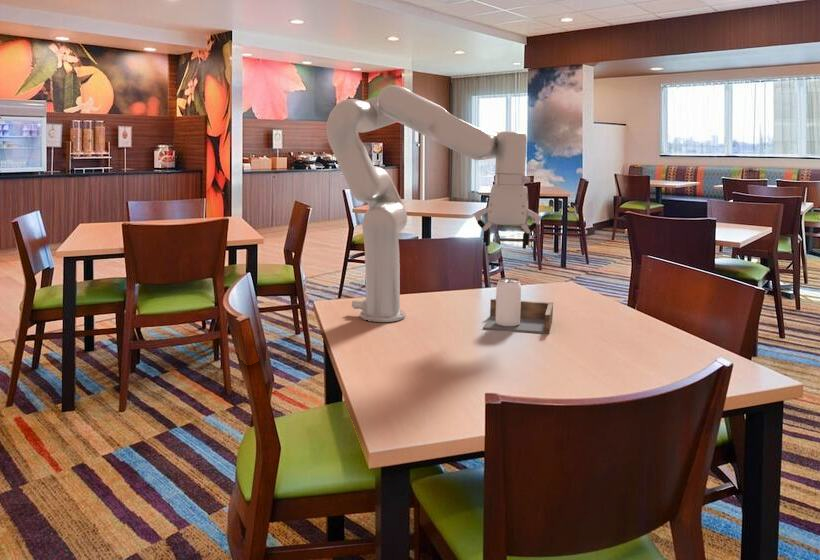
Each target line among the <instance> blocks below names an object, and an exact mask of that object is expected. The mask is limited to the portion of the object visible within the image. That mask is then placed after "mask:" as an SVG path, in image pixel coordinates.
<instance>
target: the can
mask: <svg viewBox="0 0 820 560" xmlns="http://www.w3.org/2000/svg"><path fill="white" fill-rule="evenodd" d="M497 281H498V282H497V284H496V289H495V299H496V323H497V325H499V326H503V327H515V326H518V325H519V324H520V308H521V301H522V285H521V280H520V279H519V278H514V277H502V278H498V280H497Z"/></svg>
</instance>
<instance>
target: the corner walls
mask: <svg viewBox="0 0 820 560" xmlns="http://www.w3.org/2000/svg"><path fill="white" fill-rule="evenodd" d="M489 304H490V311H489V317H490V316H496V298H491V299H490V303H489ZM553 311H554V302H546V301H532V300H521V308H520V318H534V319H545V331H544V332H545V333H546V332H549V331H550V332H551V328H552V323H553V313H554V312H553ZM547 335H549V334H548V333H547Z"/></svg>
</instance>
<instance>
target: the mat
mask: <svg viewBox="0 0 820 560" xmlns="http://www.w3.org/2000/svg"><path fill="white" fill-rule="evenodd" d="M482 329H483V330H487V331H490V330H491V331H503V332H516V333H517V332H519V333H533V334H547V333H548V334H547V335H550V332H551V330H550V331H549V332H546V333H545V332H544V331H545V319H534V318H520V324H519V325H518V326H515V327H503V326H499V325H497V323H496V316H490V315H489V317H488V319H487V320H486V322H485V323H484V325H483V327H482Z"/></svg>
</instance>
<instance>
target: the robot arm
mask: <svg viewBox="0 0 820 560" xmlns="http://www.w3.org/2000/svg"><path fill="white" fill-rule="evenodd" d="M395 123H399V124H401V125H403V126H405V127H407V128H409V129H411V130H413V131H415V132H417V133H418V134H421V135H422V136H425V137H427V138H429V140H433V141H435V142H437V143H439V144H441V145H443V146H444V147H446V148H448V149H450V150H452V151H454V152H457V153H458V154H460V155H462V156H465V157H466V158H469V159H471V160H474V161H483V160H492V159H495V167H494V168H495V170H494V171H495V172H494V184H493V185H492V186H491V187H490V189H491V190H490V193H489V197H488V198H489V199H488V204H487V205H488V206H487V207H486V208H483V209H481V210H479V211H477V212H475V213H474V214H473V215H474V218H475V221H476V222H477V225H478V226H479V227H480V228H481V229H482V231H483V243H485V247H488V246H491V245H490V244H491V232H492V231H491V229H490V228H491V226H492V225H498V226H499V225H501V226H516V227H517V226H518V227H519V226H520V227H521V228H522V229H523V231H524V232H523V235H522V249H524V250H525V249H526V248H527V246H529V245H530V233H531V232H532V231H533V230H535V229H537V227H538V225H539V223H540V222H541V220H542V216H541V215H540V214H538V213H536V212H534V211H533V210H531V209H529V193H528V186H525V184H526V183H531V177H530V176H527V175H526V162H527V161H526V159H527V158H526V156H527V142H528V141H527V140H528V138H527V134H526V133H525V132H524V131H523V132H522V131H512V130H511V131H501V132H498V131H497V132H496V131H490V130H485V129H482V128H479V127H477V126H475V125H472V124H471V123H469V122H467V121H464V120H463V119H460V118H459V117H457V116H455V115H453V114H452V113H450V112H449V111H447V110H446V109H445V108H444V107H443V106H441V105H439V104H437V103H435V102H433V101H431V100H429V99H427V98H425V97H423V96H421V95H419V94H416V93H415V92H413V91H411V90H410V89H408V88H406V87H403V86H400V85H397V84H389V85H386V86H385V87H383V88H382V89H381V90H380V92H379V94H378V96H374V97H371V98H369V99H365V100H359V99H357V98H348V99H343V100H341V101H339V102H338V103H336V105H335V106H334V107H333V108H332V110H331V111H330V113H329V115H328V117H327V121H326V136H327V141H328V144H329V147H330V149H331V151H332V153H333V155H334V156H335V159H336V161H337V163H338V166H339V169H340V171H341V173H342V175H343V178H344V180H345V182H346V184H347V187H348V188H349V190H350V191H349V192H350V193H351V195H352V196H353V197H354V199H355V200H357V201H359V202H362V203H367V206H368V208H367V210H366V212H365V213H364V215H363V217H362V218H363V219H362V224H361V225H362V228H361V229H362V235H363V244H364V265H365V266H364V267H365V268H364V270H365V271H364V272H365V273H364V274H365V275H364V276H365V299H364V300H363V301H362V300H361V301H360V300H352V302H351V307H352V308H353V309H355V310H358V309H359V310H361V311H360V314H359V317H360V319H362V320H364V321H366V320H368V321H367V322H372V321H373V323H390V322H391V323H392V322H397V321H398V322H399V321H400V320H403V319H405V318H406V312H405V311H404V310H403V309H401V308H400V304H401V303H400V300H401V299H400V296H401V295H400V294H401V292H400V290H401V289H400V287H401V285H400V282H401V281H400V278H401V277H400V275H401V272H400V268H401V264H400V262H401V259H400V256H401V255H400V243H399V233H400V232H401V231H403V230H404V229H405V227H406V225H407V223H408V214H407V210H406V206H404V203H403V201H402V198H401V197H400V194H399V192H398V189H397V187H396V186H395V183H394V181H393V179H392V178H391V176H390V174H389V173H388V172H387V171H386V170H385V169H384V168H382V167H380V166H376V165H375V164H374V163H373V161H372V159H371V157H370V155H369V152H368V150H367V148H366V146H365V144H364V143H363V141H362V139H361V138H360V136H359V135H360V134H359V133H368V132H371V131H372V132H373V131H376V130H378V129H381V128H384V127H387V126H390V125H393V124H395ZM486 214H487V218H486V219H487V223H485V221H483V219H482V216H483V215H486ZM529 217H531V218H533V219H534V221H533V222H532V223H531V225H529V224H528V219H529Z"/></svg>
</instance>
